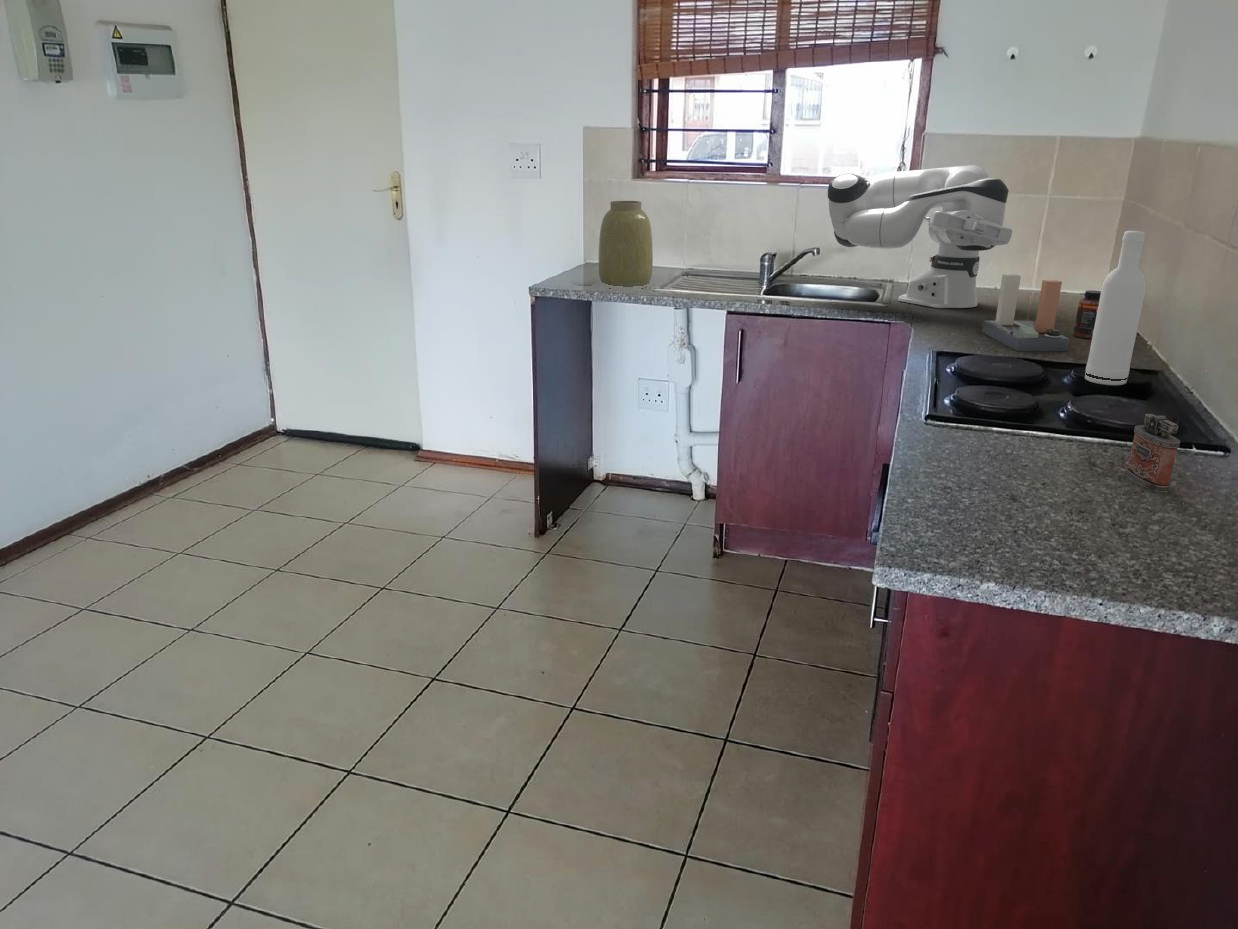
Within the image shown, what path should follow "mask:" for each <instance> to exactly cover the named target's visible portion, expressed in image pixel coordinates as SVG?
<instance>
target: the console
mask: <svg viewBox="0 0 1238 929" xmlns="http://www.w3.org/2000/svg"><path fill="white" fill-rule="evenodd" d="M995 321H996V320H986V319H985V320H983V322H982V328H981V333H982V334H985V335H987V336H989V337H990V338H992V339H994V340H996V341H997V342H999V343H1001V344H1003V345H1005V346H1006V347H1008V348H1010V349H1011V350H1014V351H1015V352H1068V349H1069V344H1070V338H1069V337H1067V336H1065V335H1063V334H1061V330H1060V329H1055V328H1054V329H1048V330H1046V332H1038V331H1037V332H1038V333H1039V335H1038V338H1025V337H1024V336H1023V335H1022V334H1021V333H1020V332H1019V331H1018V330H1019V327H1033V328H1034V329H1035V323H1036V320H1033V321H1032V320H1014V322H1013V325H999V324H997V323H995Z"/></svg>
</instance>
